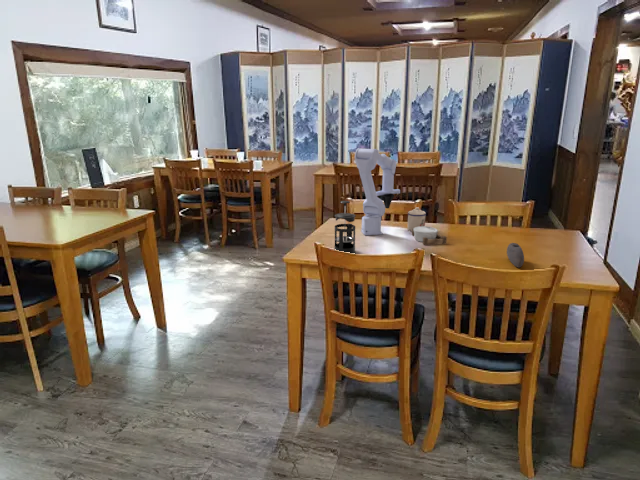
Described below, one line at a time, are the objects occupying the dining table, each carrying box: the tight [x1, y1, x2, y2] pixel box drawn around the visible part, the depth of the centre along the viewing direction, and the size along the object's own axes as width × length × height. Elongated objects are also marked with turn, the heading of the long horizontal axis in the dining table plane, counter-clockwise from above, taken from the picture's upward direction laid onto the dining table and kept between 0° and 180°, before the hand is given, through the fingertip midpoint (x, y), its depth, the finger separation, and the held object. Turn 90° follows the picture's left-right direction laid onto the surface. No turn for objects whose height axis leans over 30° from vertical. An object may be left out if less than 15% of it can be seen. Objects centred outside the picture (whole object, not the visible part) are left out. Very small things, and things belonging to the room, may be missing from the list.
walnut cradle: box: [411, 229, 448, 246], centre depth 211 cm, size 11×17×3 cm, turn 8°
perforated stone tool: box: [506, 242, 525, 268], centre depth 177 cm, size 15×5×7 cm, turn 167°
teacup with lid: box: [407, 206, 427, 232], centre depth 228 cm, size 12×9×12 cm
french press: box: [334, 200, 357, 254], centre depth 190 cm, size 12×9×23 cm
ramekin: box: [413, 226, 439, 243], centre depth 210 cm, size 11×11×5 cm
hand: (387, 208), depth 232 cm, fingers closed
